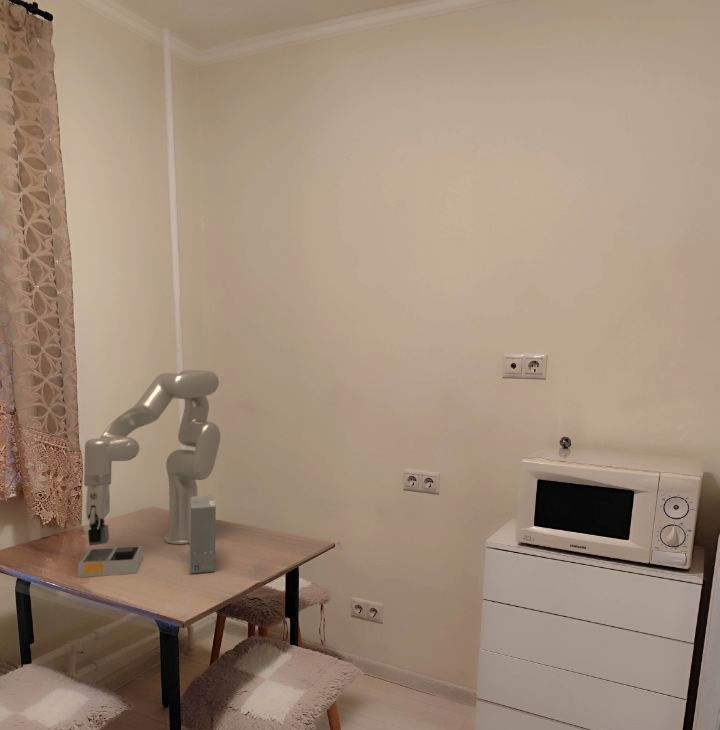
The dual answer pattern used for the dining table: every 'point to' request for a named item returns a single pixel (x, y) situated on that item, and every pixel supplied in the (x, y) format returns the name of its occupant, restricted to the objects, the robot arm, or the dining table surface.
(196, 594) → the dining table surface
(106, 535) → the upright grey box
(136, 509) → the dining table surface
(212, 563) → the hard drive box
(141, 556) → the grey divided tray
